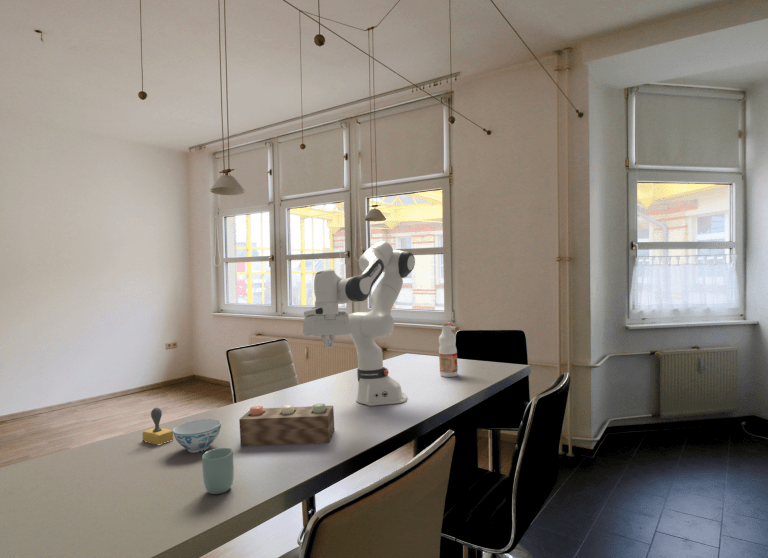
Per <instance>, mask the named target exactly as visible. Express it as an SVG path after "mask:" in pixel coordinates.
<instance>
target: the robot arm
mask: <svg viewBox="0 0 768 558" xmlns="http://www.w3.org/2000/svg"><path fill="white" fill-rule="evenodd" d="M415 265H416V259H415V256H414V254H413V253H412V252H410V251H407V250H402V249H401V250H400V249H393V246H392V245H391V244H390V243H389V242H387V241H384V240H379V241H377V242H375V243H374V244H372V245H371V246H370V247H368V248H367V249H366V250H365V251H364V252H363V253H362V254H361V256H360V257H359V259H358V266H359V269H360V270H361V272H362V273H361V274H358V275H354V276H351V277H346V278H341V277H340V276H339V275H337V274H336V271H335V270H334V269H324V270H320V271H318V272H316V273H315V275H314V281H313V282H314V283H313V288H314V289H313V290H314V291H313V293H314V296H315V300H314V307H312V308H309V309H306V310H304V311H303V316H304V318H303V323H302V331H303V332H302V333H303V335H304V336H305V337H318V336H319V337H320V339H321V341H322V343H323V345H324V348H325V349H328V348H329V349H330V348H333V347H334V341H335V339H336V336H349V337H350V339H351V340H352V342H353V344H354V347H355V349H356V355H357V369H356V373H357V374H356V376H357V377H356V378H357V382H358V385H357V386H358V387H357V396H356V400H355V402H357V403H359V404H361V405H366V406H369V407H371V406H373V407H374V406H381V405H382V406H384V405H393V404H402V403H403V404H404V403H405V402H407V400H408V395H407V393H404V392H403V391H402V386H401V385H400V383H399V382H398V381H396V380H395V379H393V378H392V377H391V376H390V375H389V373H390V372H389V369H388V368H387V367H385V366H384V361H383V359H384V357H383V349H382V348H381V347H380V346H379V345H378V344H377V343H376V341H375V340H374V338H378V339H379V338H384V337H389V336H391V335H392V333H393V332H394V329H395V321H394V319H393V317H392V315H391V312H392V309H393V306H394V305H395V303H396V301H397V300H398V297H399V294H400V292H401V290H402V288H403V283H404V281H403V279H405V278H406V277H408V276H409V275H410V274H411V272H412V271H413V270H414V268H415ZM383 273H384V274H383ZM382 274H383V277H382V278H381V279H380V280H379V282H378V283H377V285H376V286H375V288H374V290H373V292H372V288H373V286H374V285H375V283H376V282H377V281H378V279H379V278H380V276H381V275H382ZM371 292H372V293H371ZM370 294H371V295H370ZM368 298H369V301H368V302H369V306H370V307H371V310H370V311H356V312H352V313H347V312H346V311H339V305H343V304H348V303H350V304H351V303H354V302H357V303H358V302H364V301H365V300H368ZM328 339H329V341H328Z"/></svg>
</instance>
